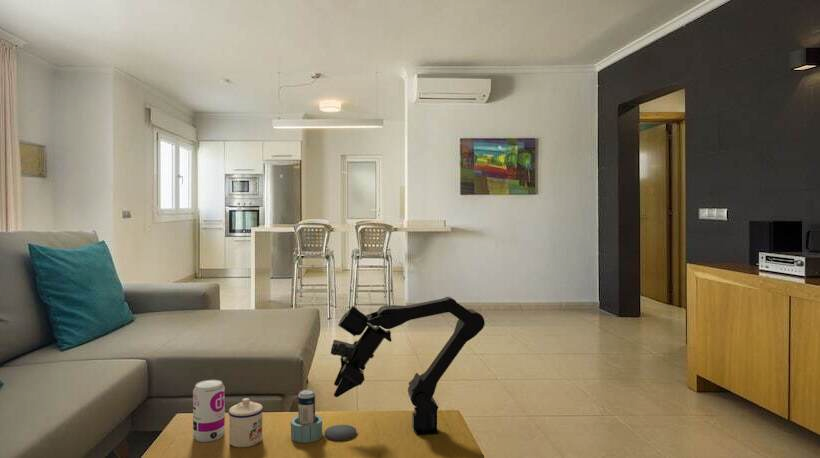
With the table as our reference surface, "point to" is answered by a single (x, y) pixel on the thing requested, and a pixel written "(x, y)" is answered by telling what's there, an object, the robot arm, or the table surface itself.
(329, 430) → the rubber mat
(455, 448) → the table surface
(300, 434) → the plastic tub
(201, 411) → the supplement can
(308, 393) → the beer can
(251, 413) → the teacup with lid
